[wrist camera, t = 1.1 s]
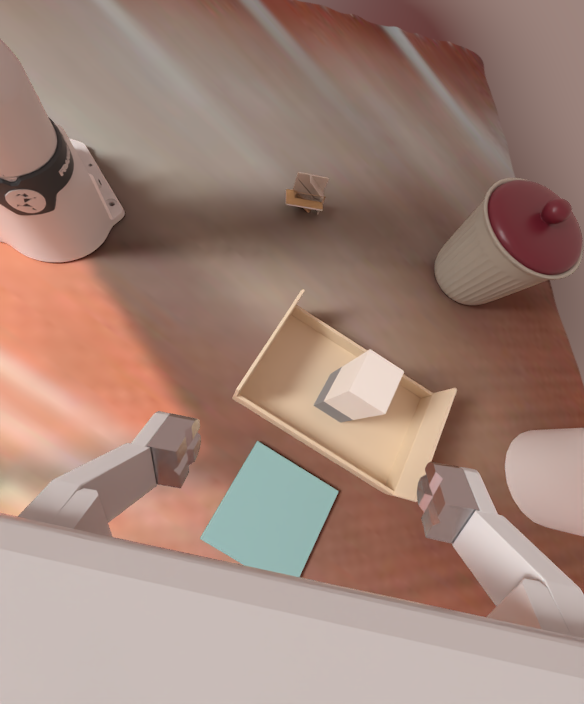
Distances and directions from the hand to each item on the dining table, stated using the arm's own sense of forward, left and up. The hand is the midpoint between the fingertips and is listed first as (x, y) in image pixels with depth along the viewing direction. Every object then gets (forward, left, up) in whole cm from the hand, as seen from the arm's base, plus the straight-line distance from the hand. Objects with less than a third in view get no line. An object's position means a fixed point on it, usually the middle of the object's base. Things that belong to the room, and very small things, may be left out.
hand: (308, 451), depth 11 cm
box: (-1, +17, -36) cm, 40 cm away
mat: (+10, +2, -36) cm, 38 cm away
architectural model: (-36, +26, -37) cm, 58 cm away
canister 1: (-14, +52, -37) cm, 65 cm away
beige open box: (-1, +17, -36) cm, 40 cm away
